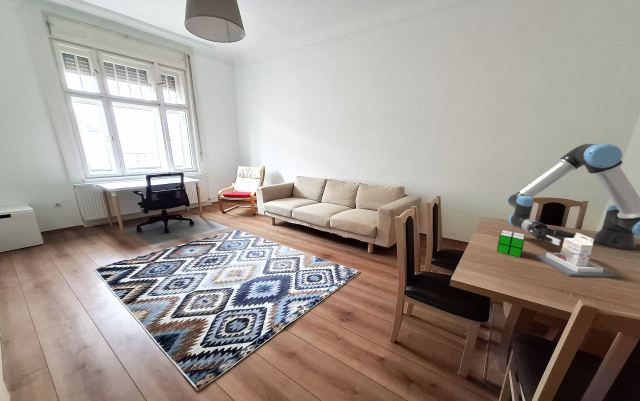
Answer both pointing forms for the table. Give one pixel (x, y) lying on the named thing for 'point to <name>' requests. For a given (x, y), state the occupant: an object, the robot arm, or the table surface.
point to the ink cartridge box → (577, 250)
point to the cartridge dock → (574, 267)
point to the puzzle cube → (511, 243)
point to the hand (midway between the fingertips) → (574, 243)
